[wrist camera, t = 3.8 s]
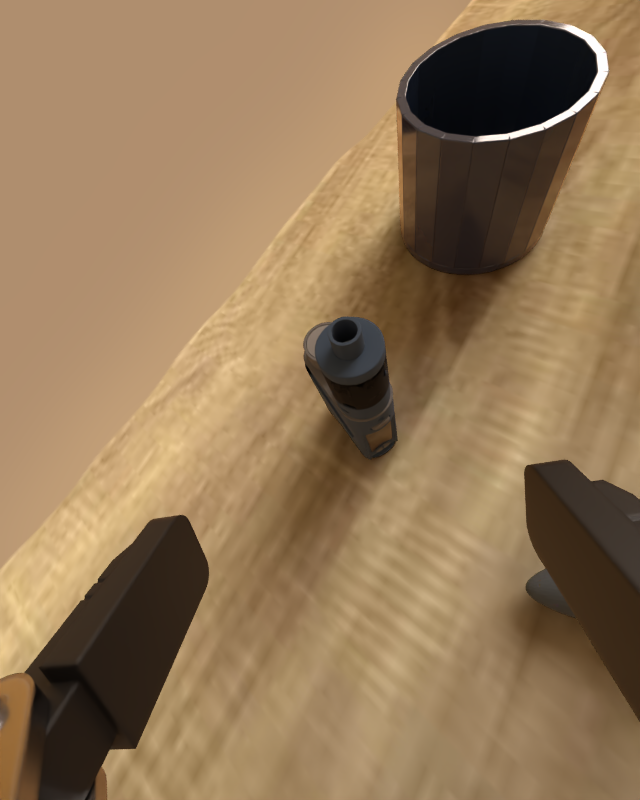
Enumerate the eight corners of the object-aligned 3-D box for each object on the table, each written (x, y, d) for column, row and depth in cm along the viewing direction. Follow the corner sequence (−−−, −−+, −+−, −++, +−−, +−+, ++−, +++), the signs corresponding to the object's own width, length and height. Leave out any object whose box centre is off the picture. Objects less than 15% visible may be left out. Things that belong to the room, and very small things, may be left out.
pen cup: (518, 159, 28) (563, -3, 20) (567, 254, 24) (648, 100, 16) (390, 194, 29) (382, 58, 21) (415, 289, 25) (418, 165, 17)
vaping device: (371, 469, 21) (331, 384, 11) (323, 403, 24) (251, 278, 13) (406, 444, 21) (404, 333, 11) (356, 381, 24) (311, 237, 13)
